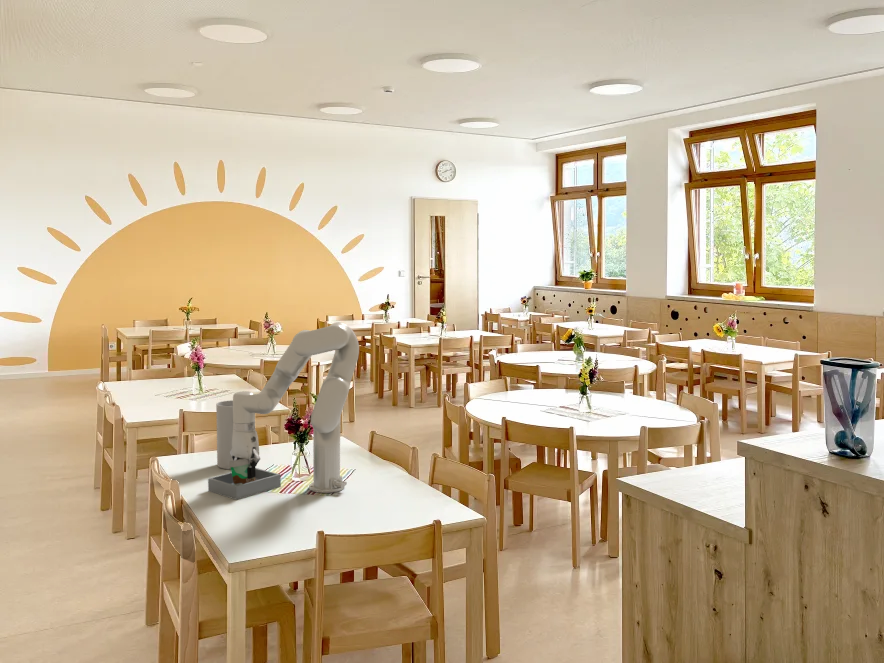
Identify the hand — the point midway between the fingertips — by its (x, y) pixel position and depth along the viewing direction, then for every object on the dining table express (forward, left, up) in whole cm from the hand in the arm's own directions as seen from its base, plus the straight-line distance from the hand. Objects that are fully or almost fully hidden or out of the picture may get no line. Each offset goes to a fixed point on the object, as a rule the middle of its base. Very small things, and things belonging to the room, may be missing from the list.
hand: (245, 475), depth 281 cm
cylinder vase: (+28, -17, -5) cm, 33 cm away
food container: (-1, -1, -3) cm, 4 cm away
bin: (0, 0, -5) cm, 5 cm away
